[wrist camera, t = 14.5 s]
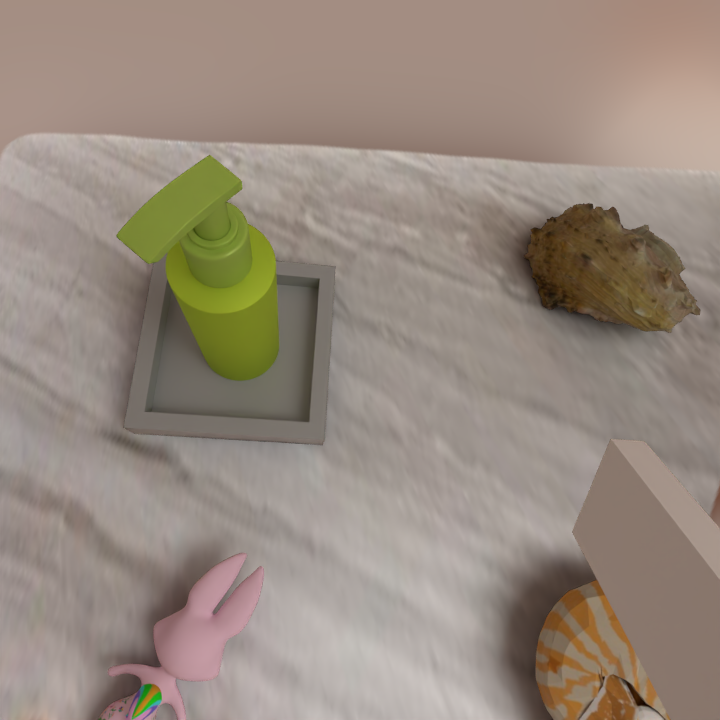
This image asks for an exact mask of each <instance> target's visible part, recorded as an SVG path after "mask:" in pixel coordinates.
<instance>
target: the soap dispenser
mask: <svg viewBox="0 0 720 720" xmlns="http://www.w3.org/2000/svg"><path fill="white" fill-rule="evenodd" d="M240 190H242V181H241V180H240V179H239V178H238V177H236V176H235V175H234V174H233V173H232V172H230V171H229V170H228V169H227V168H225V167H224V166H223V165H222V164H220V163H219V162H218V161H217V160H216V159H214V158H213V157H212V156H211V155H209V156H207V157H206V158H204V159H203V160H201V161H200V162H198V163H197V164H195V165H194V166H193V167H191V168H190V169H188V170H187V171H186V172H184V173H183V174H181V175H180V176H179V177H177V178H176V179H174V180H173V181H172V182H170V183H169V184H168V185H167V186H165V187H164V188H163V189H162V190H160V191H159V192H158V193H157V194H156V195H154V196H153V197H152V198H151V199H150V200H149V201H148V202H147V203H146V204H145V205H144V206H143V207H142V208H140V210H139V211H138V212H137V213H136V214H135V215H134V216H133V217H132V218H131V219H130V220H129V221H128V222H127V223H126V224H125V225H124V227H123V228H122V229H121V230H120V231H119V232H118V234H117V238H118V239H119V240H121V241H122V242H123V243H124V244H125V245H126V246H127V247H129V248H130V249H131V250H132V251H133V252H134V253H136V254H137V255H138V256H139V257H140V258H142V259H143V260H144V261H145V262H146V263H148V264H150V263H156V262H158V261H160V260H161V259H162V258H163V257H164V255H165V254H166V253H167V252H168V253H167V257H166V275H167V279H168V282H169V284H170V286H171V289H172V291H173V293H174V295H175V297H176V299H177V301H178V303H179V305H180V307H181V310H182V312H183V314H184V316H185V318H186V320H187V322H188V324H189V326H190V328H191V330H192V333H193V335H194V337H195V339H196V341H197V343H198V345H199V347H200V349H201V351H202V354H203V356H204V358H205V360H206V362H207V363H208V365H209V366H210V368H211V369H212V370H213V371H214V372H216V373H217V374H219V375H220V376H222V377H224V378H227V379H230V380H236V381H244V380H250V379H253V378H256V377H258V376H260V375H262V374H263V373H265V372H266V371H267V370H268V369H269V368H270V367H271V366H272V365H273V363H274V362H275V360H276V358H277V355H278V351H279V326H278V301H277V277H276V259H275V254H274V251H273V249H272V247H271V245H270V243H269V241H268V240H267V239H266V237H265V236H264V235H263V234H262V233H261V232H260V231H259V230H257V229H256V228H254V227H253V226H251V225H249V224H248V223H247V220H246V218H245V216H244V215H243V213H242V212H241V211H240V210H239V209H238V208H237V207H236V206H234V205H232V204H231V203H228V202H226V201H228V200H229V199H230V198H231V197H233V196H234V195H235V194H236V193H238V192H239V191H240Z"/></svg>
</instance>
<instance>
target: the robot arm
mask: <svg viewBox="0 0 720 720" xmlns="http://www.w3.org/2000/svg"><path fill="white" fill-rule="evenodd" d="M572 533H573V535H574V537H575V539H576V540H577V542H578V544H579V546H580V548H581V550H582V552H583V554H584V556H585V558H586V560H587V561H588V563H589V565H590V567H591V569H592V571H593V573H594V575H595V577H596V579H597V580H598V582H599V584H600V586H601V588H602V590H603V592H604V594H605V596H606V598H607V600H608V601H609V603H610V605H611V607H612V609H613V611H614V613H615V615H616V617H617V619H618V620H619V622H620V624H621V626H622V628H623V630H624V632H625V634H626V636H627V638H628V640H629V641H630V643H631V645H632V647H633V649H634V651H635V653H636V655H637V657H638V659H639V660H640V662H641V664H642V666H643V668H644V670H645V672H646V674H647V676H648V678H649V680H650V681H651V683H652V685H653V687H654V689H655V691H656V693H657V695H658V697H659V699H660V700H661V702H662V704H663V706H664V708H665V710H666V712H667V714H668V716H669V718H670V720H720V528H719V527H718V526H717V525H716V524H715V522H714V521H713V520H712V519H711V518H710V517H709V515H708V514H707V513H706V512H705V511H704V510H703V508H702V507H701V506H700V505H699V504H698V503H697V502H696V500H695V499H694V498H693V497H692V496H691V495H690V493H689V492H688V491H687V490H686V489H685V488H684V486H683V485H682V484H681V483H680V482H679V481H678V480H677V478H676V477H675V476H674V475H673V474H672V473H671V471H670V470H669V469H668V468H667V467H666V466H665V464H664V463H663V462H662V461H661V460H660V459H659V458H658V456H657V455H656V454H655V453H654V452H653V451H652V449H651V448H650V447H649V446H648V445H647V444H646V442H645V441H634V440H620V439H610V442H609V444H608V447H607V449H606V451H605V454H604V456H603V459H602V461H601V463H600V466H599V468H598V471H597V473H596V476H595V478H594V480H593V483H592V485H591V488H590V490H589V492H588V495H587V497H586V500H585V502H584V504H583V507H582V509H581V512H580V514H579V516H578V519H577V521H576V524H575V526H574V529H573V531H572Z"/></svg>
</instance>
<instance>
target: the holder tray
mask: <svg viewBox="0 0 720 720" xmlns="http://www.w3.org/2000/svg"><path fill="white" fill-rule="evenodd" d="M167 253H168V252H167ZM167 253H166V254H165V255H164V257H163V258H162V259H161V260H160V261H158V262H156V263H153V269H152V274H151V280H150V285H149V291H148V296H147V302H146V307H145V312H144V318H143V323H142V329H141V334H140V340H139V345H138V351H137V356H136V362H135V367H134V373H133V378H132V384H131V389H130V394H129V400H128V405H127V411H126V416H125V422H124V427H123V428H125V429H127V430H129V431H130V432H132V433H134V434H148V435H165V436H182V437H198V438H215V439H231V440H248V441H265V442H281V443H298V444H315V445H323V443H324V441H325V429H326V413H327V397H328V381H329V365H330V349H331V333H332V317H333V301H334V285H335V269H336V266H326V265H316V264H305V263H295V262H285V261H276V277H277V301H278V326H279V351H278V355H277V358H276V360H275V362H274V363H273V365H272V366H271V367H270V368H269V369H268V370H267V371H266V372H265V373H263V374H262V375H260V376H258V377H256V378H253V379H250V380H244V381H236V380H230V379H227V378H224V377H222V376H220V375H219V374H217V373H216V372H214V371H213V370H212V369H211V368H210V366H209V365H208V363H207V362H206V360H205V358H204V356H203V354H202V351H201V349H200V347H199V345H198V343H197V341H196V339H195V337H194V335H193V333H192V330H191V328H190V326H189V324H188V322H187V320H186V318H185V316H184V314H183V312H182V310H181V307H180V305H179V303H178V301H177V299H176V297H175V295H174V293H173V291H172V289H171V286H170V284H169V282H168V279H167V275H166V257H167Z"/></svg>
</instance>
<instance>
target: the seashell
mask: <svg viewBox="0 0 720 720" xmlns="http://www.w3.org/2000/svg"><path fill="white" fill-rule="evenodd" d="M547 222H548V223H545V226H543V227H542V229H538V228H533V229H531V231H532V234H531V235H530V237H531V244H529V245H528V253H527V254H526V255H524V257H525V258H526V259H528V260H529V261H530V267H531V268H532V269H533V275H532V278H535V279H536V280H537V282H536V283H537V285H538V286H539V290H538V293H539V294H540V296H541V298H542V303H543V306H544V307H545V308H548V309H549V310H552V309H554V308H556V307H558V306H561V307H566V309H567V311H568V312H570V313H572V312H574V311H577V312H578V313H581V314H590V315H591V316H593V317H594V318H595V320H599V321H600V322H601V321H605V322H607V321H610V322H613V323H614V324H622V323H625V324H627V325H630V326H632V327H635V328H638V329H640V330H643V331H666V332H668V333H671V329H672V328H673V327H674V326H675V325H676V324H677V323H678V322H681V321H682V319H683V318H684V317H685V316H686V315H688V314H690V313H691V314H694V315H700V309H699V308H698V307H697V305H696V302H697V300H695V299H694V297H693V296H692V295H691V294H690V292H689V289H688V288H687V287H686V284H685V283H684V282H683V280H682V279H681V277H680V275H679V274H680V273H681V272H682V271H683V270H684V269H685V268H684V266H683V265H682V262H681V260H680V257H679V256H677V253H676V252H675V250H674V249H673V248H672V247H671V246H670V245H669V244H667V243H666V242H665V241H663V240H662V239H660V238H658V237H657V236H655V235H654V233H652V232H650V231H649V226H648V225H644V226H642V227H639V228H636V229H632V230H628V229H625V228H623V226H622V225H621V223H620V219H619V214H618V212H617V210H616V208H614V207H612V208H610V209H609V210H603V208H601V207H596V208H595V209H593V204H590V203H588V204H584V203H583V204H578V205H577V204H576V205H574V206H573V207H570V208H568V209H567V210H565V211H564V213H563V214H562V215H560V216H559V217H555V218H554V217H551V218H550V219H547Z"/></svg>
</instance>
